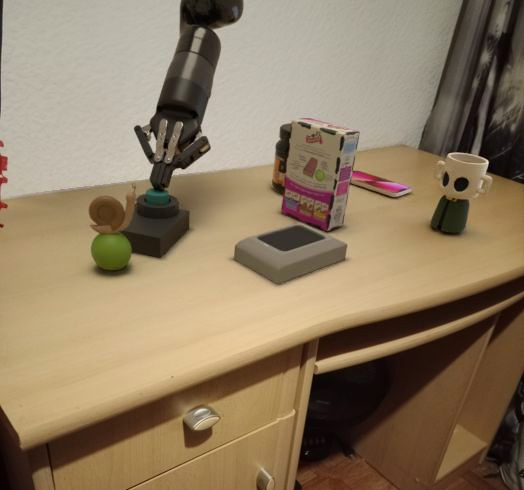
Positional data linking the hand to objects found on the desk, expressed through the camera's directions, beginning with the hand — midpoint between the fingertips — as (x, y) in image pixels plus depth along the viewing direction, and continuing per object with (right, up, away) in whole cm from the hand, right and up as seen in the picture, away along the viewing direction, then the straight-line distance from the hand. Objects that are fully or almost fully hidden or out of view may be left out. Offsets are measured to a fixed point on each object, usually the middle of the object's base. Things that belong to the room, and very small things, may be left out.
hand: (157, 188), depth 85 cm
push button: (0, -3, +2) cm, 3 cm away
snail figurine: (-4, -14, -8) cm, 17 cm away
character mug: (+51, -3, +16) cm, 53 cm away
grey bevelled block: (+21, -11, 0) cm, 24 cm away
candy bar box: (+25, -2, +14) cm, 29 cm away
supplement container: (+23, +7, +27) cm, 36 cm away
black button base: (-2, -8, +1) cm, 8 cm away
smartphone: (+41, +10, +34) cm, 54 cm away
